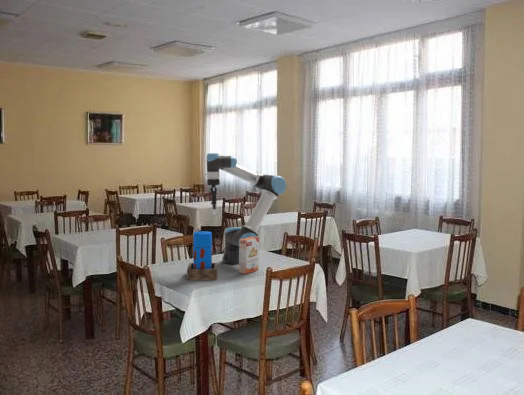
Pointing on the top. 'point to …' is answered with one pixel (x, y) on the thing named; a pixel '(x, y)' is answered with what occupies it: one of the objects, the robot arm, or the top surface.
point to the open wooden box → (202, 273)
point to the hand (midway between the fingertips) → (214, 212)
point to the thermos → (202, 250)
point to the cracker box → (248, 255)
